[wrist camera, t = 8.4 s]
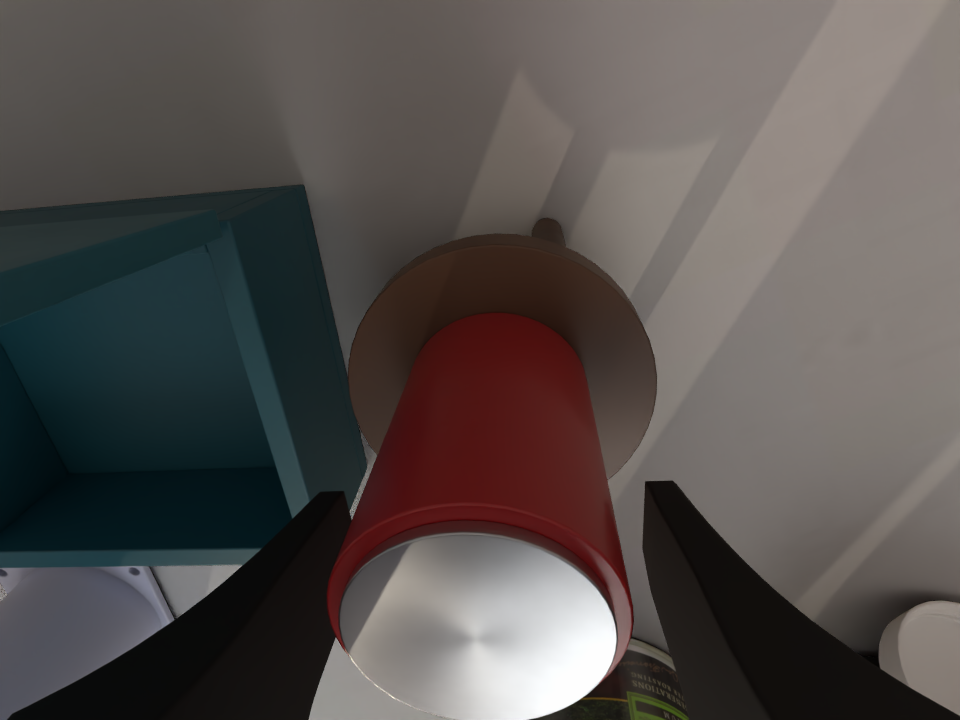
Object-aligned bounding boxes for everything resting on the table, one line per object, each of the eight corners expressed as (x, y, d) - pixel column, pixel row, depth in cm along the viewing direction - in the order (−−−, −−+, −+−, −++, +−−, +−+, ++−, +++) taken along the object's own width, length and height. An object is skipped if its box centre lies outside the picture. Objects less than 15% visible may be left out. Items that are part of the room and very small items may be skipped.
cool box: (368, 467, 24) (328, 564, 19) (73, 476, 25) (-33, 569, 20) (304, 184, 18) (228, 219, 14) (-62, 216, 20) (-245, 258, 15)
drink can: (588, 464, 17) (632, 737, 10) (422, 469, 18) (352, 730, 11) (587, 306, 15) (642, 514, 8) (396, 317, 15) (285, 521, 8)
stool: (663, 390, 21) (696, 464, 17) (450, 464, 23) (434, 545, 19) (576, 161, 18) (591, 185, 13) (336, 273, 20) (288, 322, 16)
